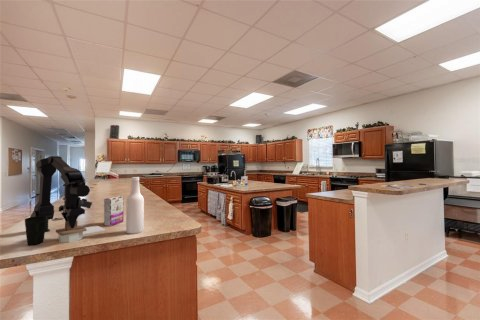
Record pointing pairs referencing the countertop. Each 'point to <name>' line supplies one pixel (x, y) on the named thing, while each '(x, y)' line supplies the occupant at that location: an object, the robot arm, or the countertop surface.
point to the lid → (70, 229)
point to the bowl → (70, 237)
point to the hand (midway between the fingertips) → (71, 227)
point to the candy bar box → (113, 210)
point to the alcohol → (135, 209)
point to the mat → (93, 230)
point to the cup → (35, 230)
